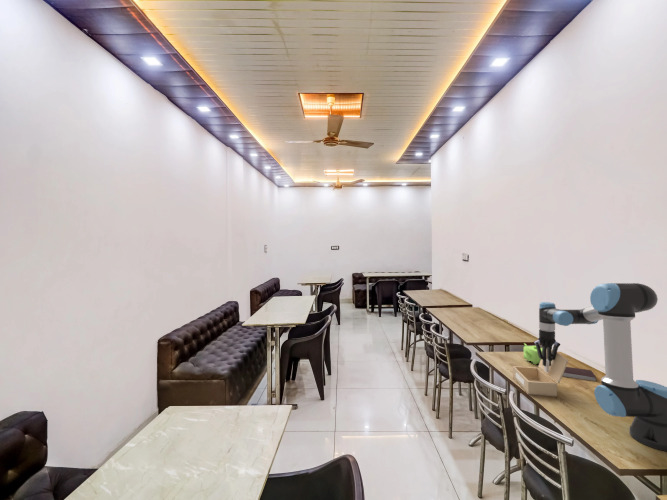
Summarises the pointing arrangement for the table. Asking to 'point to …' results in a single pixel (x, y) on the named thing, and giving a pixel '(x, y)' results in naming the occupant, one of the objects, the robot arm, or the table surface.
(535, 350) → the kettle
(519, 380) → the open box
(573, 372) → the book
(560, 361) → the lid
